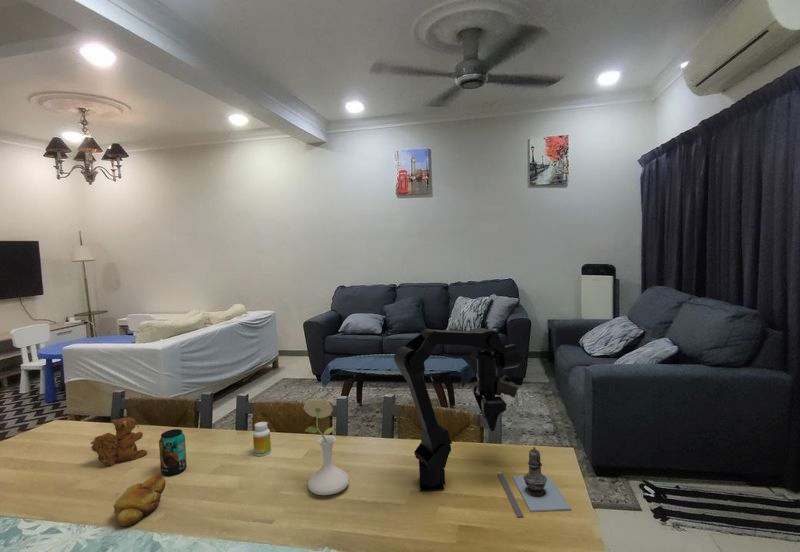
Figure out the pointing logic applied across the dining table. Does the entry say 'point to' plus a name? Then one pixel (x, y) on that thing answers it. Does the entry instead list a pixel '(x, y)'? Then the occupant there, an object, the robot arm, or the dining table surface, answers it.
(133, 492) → the bread roll
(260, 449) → the supplement bottle
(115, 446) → the stuffed squirrel
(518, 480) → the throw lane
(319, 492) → the flower in vase
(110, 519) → the dining table surface
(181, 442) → the beverage can
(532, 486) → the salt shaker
